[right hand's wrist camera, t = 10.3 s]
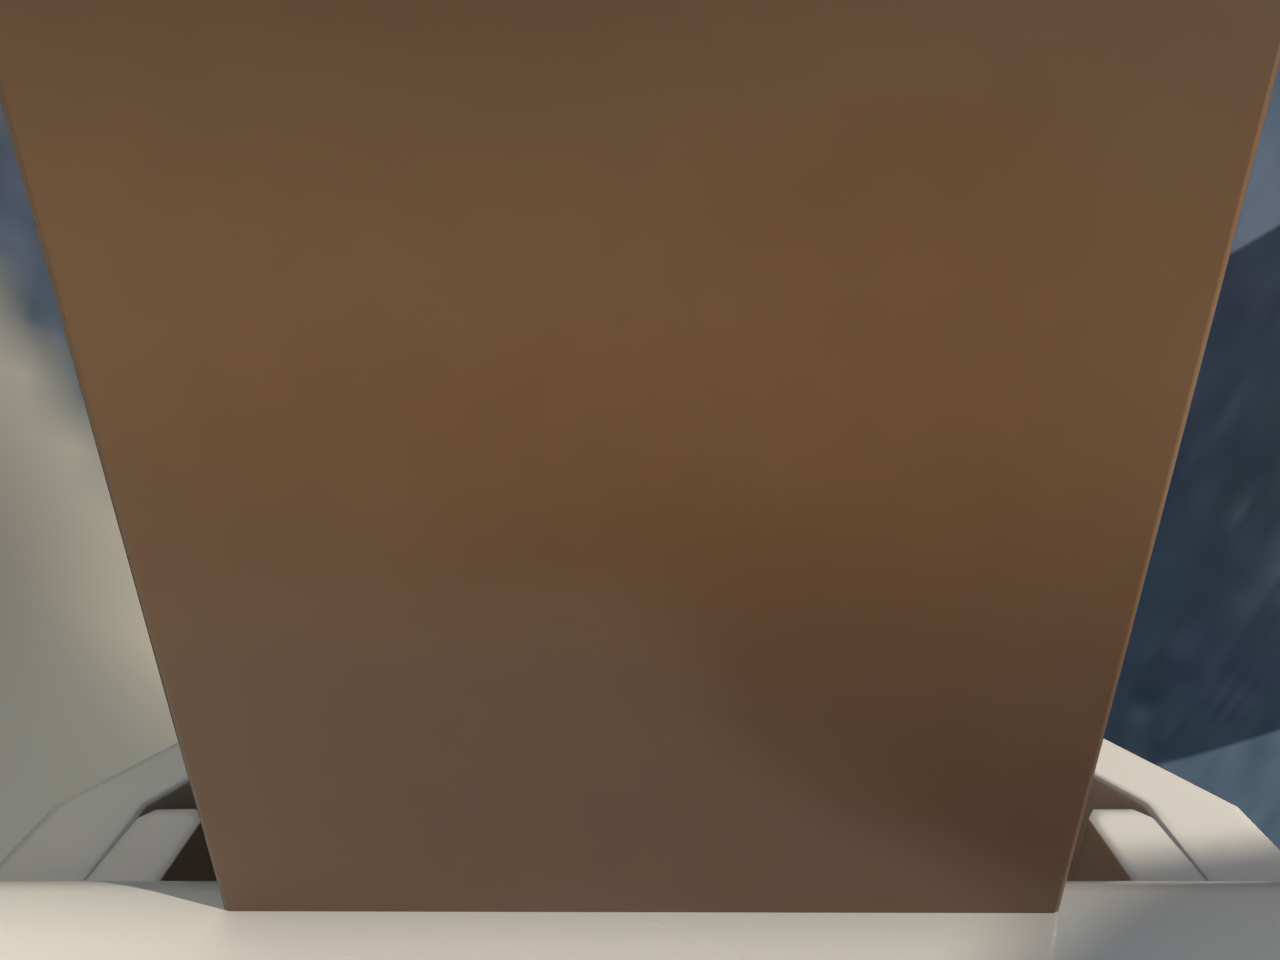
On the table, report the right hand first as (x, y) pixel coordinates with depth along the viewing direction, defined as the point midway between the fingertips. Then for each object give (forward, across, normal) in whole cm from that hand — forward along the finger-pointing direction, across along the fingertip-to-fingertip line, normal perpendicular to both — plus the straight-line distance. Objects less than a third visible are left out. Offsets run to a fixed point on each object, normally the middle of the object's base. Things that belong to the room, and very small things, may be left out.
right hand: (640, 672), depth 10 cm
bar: (+4, 0, -7) cm, 8 cm away
